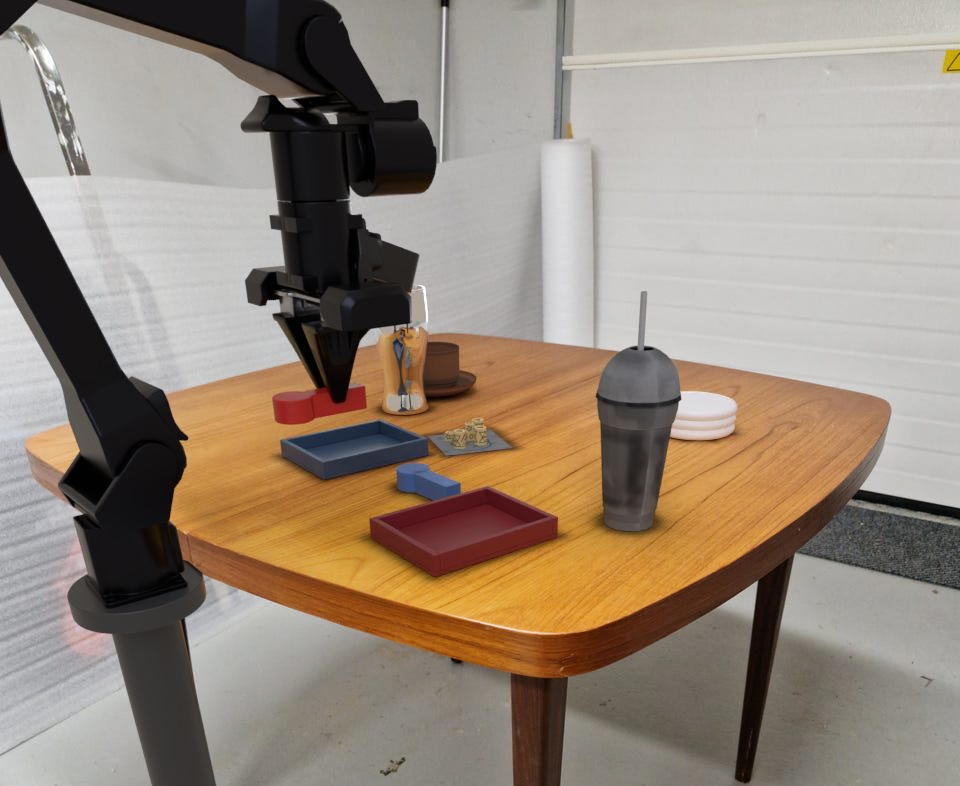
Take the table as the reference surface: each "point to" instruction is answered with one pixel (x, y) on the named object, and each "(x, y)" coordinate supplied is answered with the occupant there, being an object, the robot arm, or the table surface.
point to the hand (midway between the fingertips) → (333, 400)
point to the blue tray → (353, 448)
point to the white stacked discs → (704, 416)
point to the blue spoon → (425, 482)
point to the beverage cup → (635, 430)
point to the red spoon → (315, 404)
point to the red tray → (462, 529)
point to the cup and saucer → (445, 371)
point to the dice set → (469, 439)
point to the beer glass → (405, 359)
